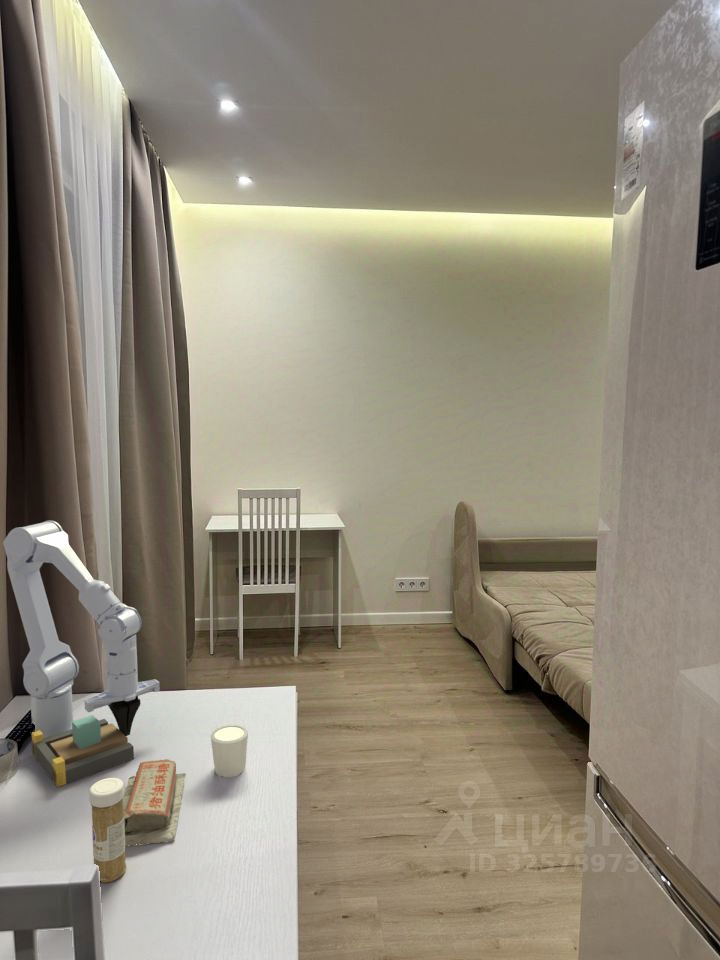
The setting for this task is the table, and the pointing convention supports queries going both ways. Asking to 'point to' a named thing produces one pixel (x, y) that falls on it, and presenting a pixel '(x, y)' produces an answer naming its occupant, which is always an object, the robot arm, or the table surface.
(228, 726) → the white cup
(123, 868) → the sprinkles bottle
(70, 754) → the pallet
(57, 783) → the dock
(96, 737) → the block
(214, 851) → the table surface
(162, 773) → the packaged product
